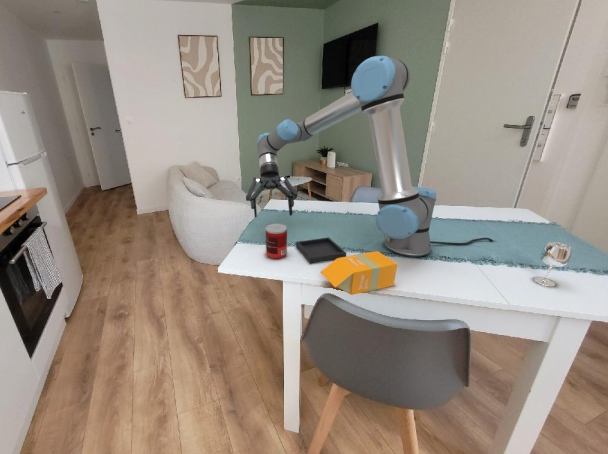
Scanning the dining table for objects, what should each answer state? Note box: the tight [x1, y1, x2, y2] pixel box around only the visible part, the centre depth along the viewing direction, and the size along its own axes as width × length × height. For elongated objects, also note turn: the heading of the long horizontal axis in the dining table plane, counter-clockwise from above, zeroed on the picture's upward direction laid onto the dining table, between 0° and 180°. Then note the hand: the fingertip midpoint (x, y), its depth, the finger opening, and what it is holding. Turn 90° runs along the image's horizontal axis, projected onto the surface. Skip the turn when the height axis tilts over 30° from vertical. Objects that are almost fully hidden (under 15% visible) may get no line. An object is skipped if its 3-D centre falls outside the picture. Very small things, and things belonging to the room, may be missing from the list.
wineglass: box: [533, 241, 573, 287], centre depth 83 cm, size 6×6×12 cm
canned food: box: [265, 223, 288, 260], centre depth 106 cm, size 8×8×11 cm
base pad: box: [295, 236, 347, 265], centre depth 108 cm, size 14×14×2 cm
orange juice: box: [319, 250, 398, 296], centre depth 87 cm, size 8×9×20 cm
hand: (273, 215), depth 111 cm, fingers open, 13 cm apart
